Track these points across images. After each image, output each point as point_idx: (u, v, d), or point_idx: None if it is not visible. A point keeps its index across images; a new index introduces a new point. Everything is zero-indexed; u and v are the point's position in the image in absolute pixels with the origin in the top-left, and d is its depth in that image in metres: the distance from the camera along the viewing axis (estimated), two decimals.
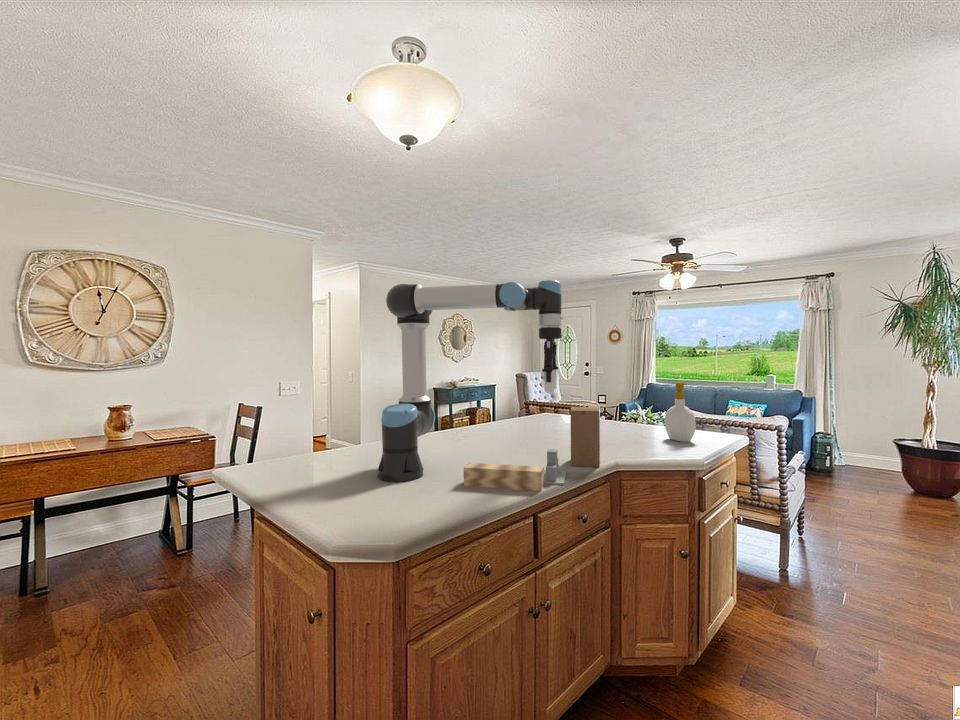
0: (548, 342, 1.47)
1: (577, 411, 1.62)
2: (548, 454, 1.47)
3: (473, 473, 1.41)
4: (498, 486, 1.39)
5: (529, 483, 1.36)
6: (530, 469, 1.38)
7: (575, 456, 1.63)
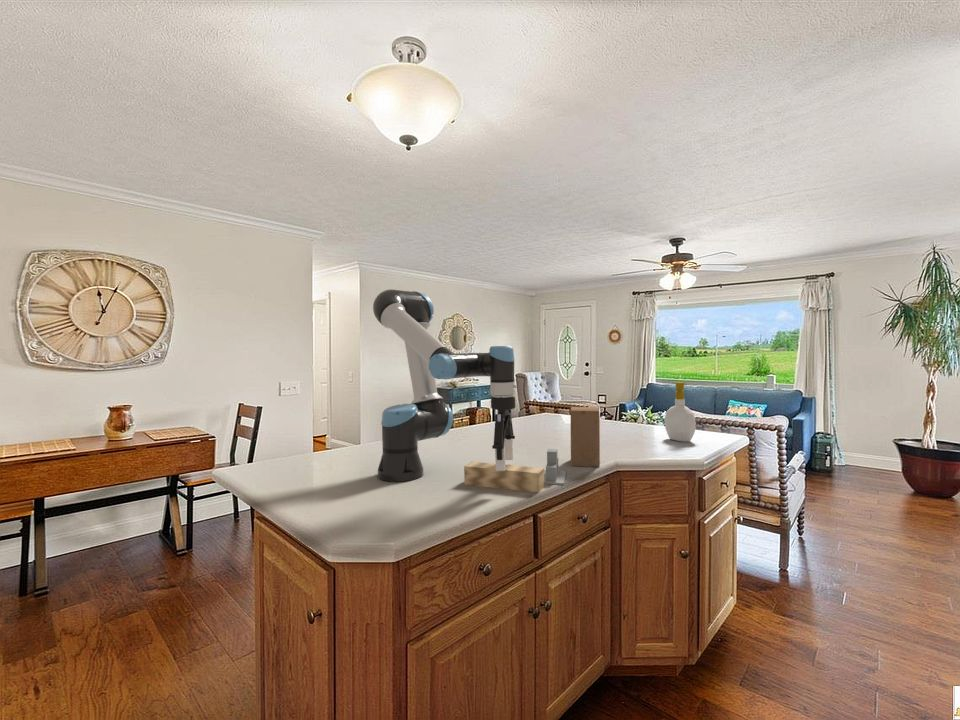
0: (499, 416, 1.34)
1: (577, 411, 1.62)
2: (548, 454, 1.47)
3: (473, 472, 1.42)
4: (497, 486, 1.39)
5: (527, 484, 1.36)
6: (529, 470, 1.37)
7: (575, 456, 1.63)
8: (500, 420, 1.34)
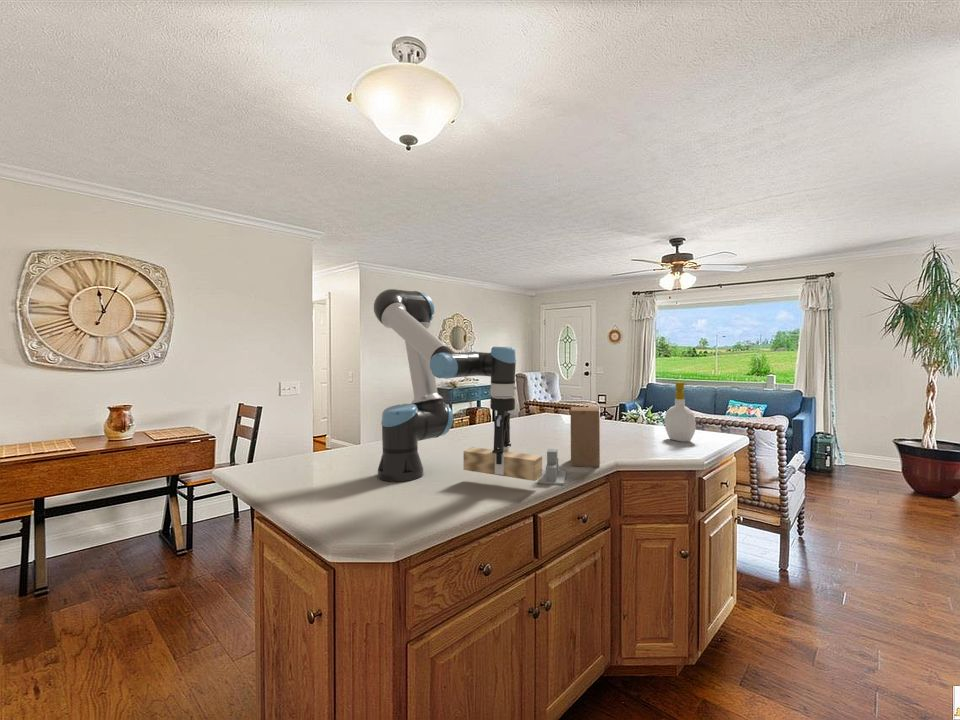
0: (498, 422, 1.35)
1: (577, 411, 1.62)
2: (548, 454, 1.47)
3: (472, 457, 1.43)
4: (494, 472, 1.40)
5: (523, 471, 1.35)
6: (526, 457, 1.37)
7: (575, 456, 1.63)
8: (499, 425, 1.35)
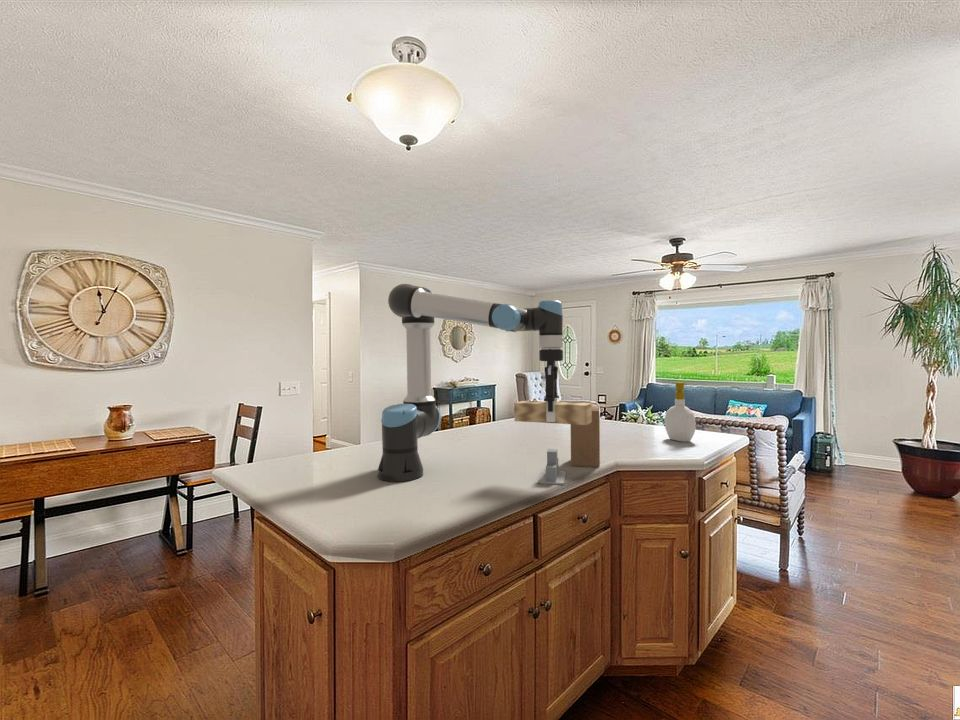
0: (549, 370, 1.41)
1: None
2: (548, 454, 1.47)
3: (523, 408, 1.50)
4: None
5: (575, 416, 1.41)
6: (576, 404, 1.43)
7: (575, 456, 1.63)
8: (550, 374, 1.41)
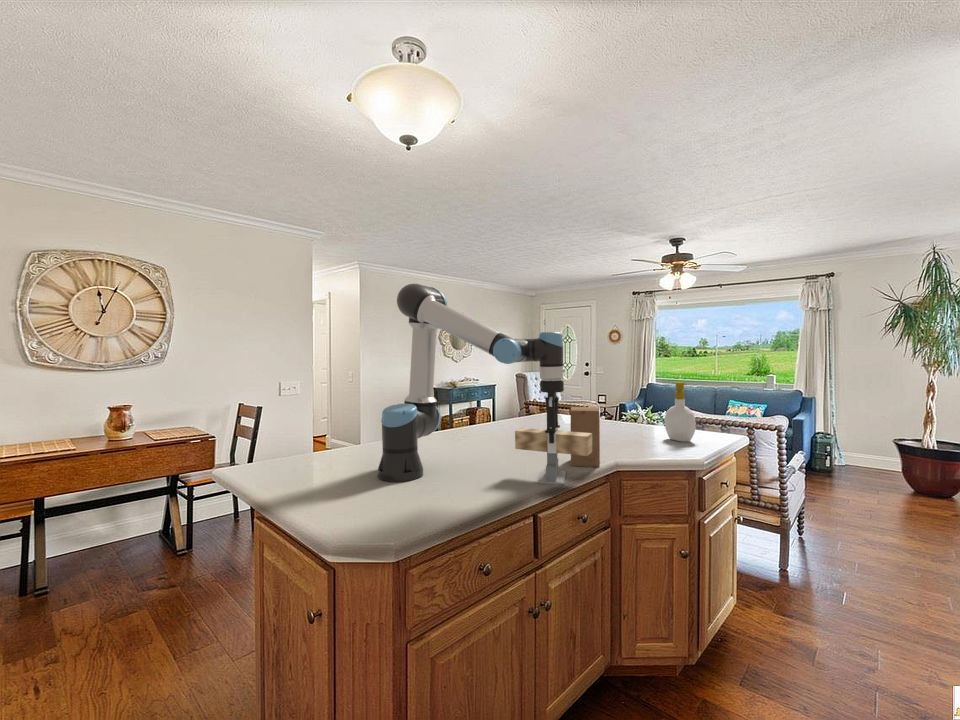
0: (550, 402, 1.42)
1: (577, 411, 1.62)
2: (548, 454, 1.47)
3: (524, 436, 1.50)
4: (546, 449, 1.46)
5: (576, 447, 1.42)
6: (577, 434, 1.44)
7: (575, 456, 1.63)
8: (551, 406, 1.42)
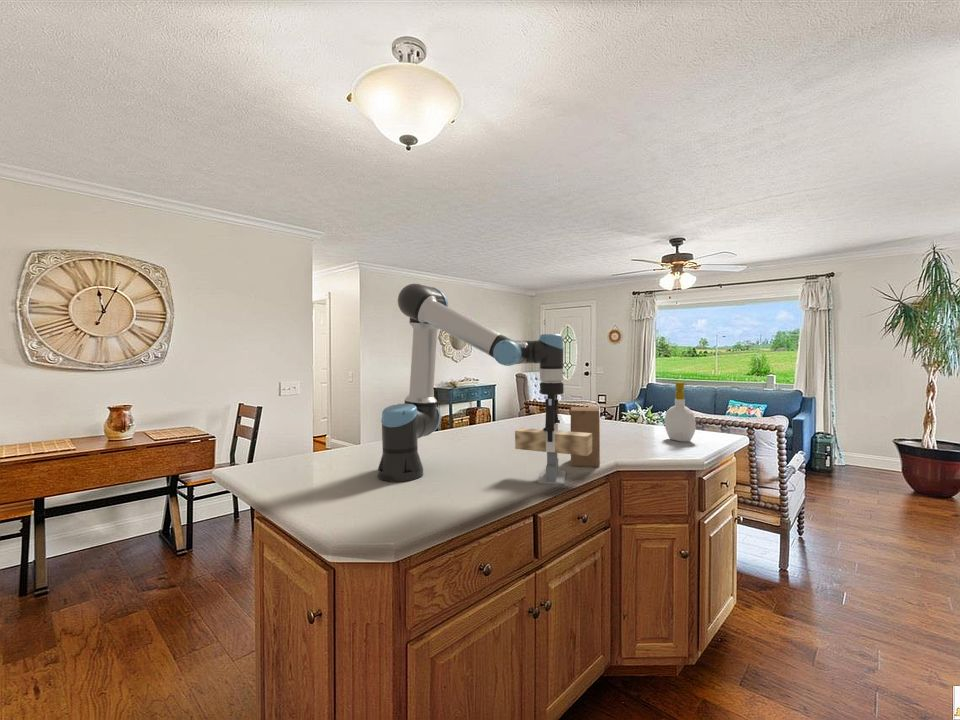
0: (550, 400, 1.42)
1: (577, 411, 1.62)
2: (548, 454, 1.47)
3: (524, 436, 1.50)
4: None
5: (576, 447, 1.42)
6: (577, 434, 1.44)
7: (575, 456, 1.63)
8: (551, 404, 1.41)
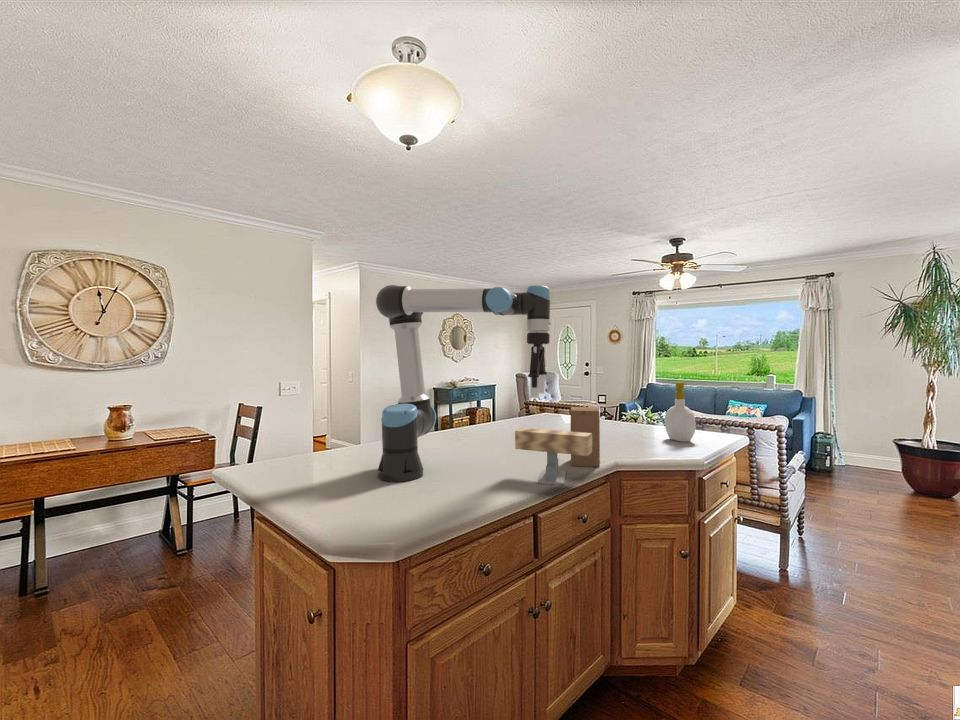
0: (535, 348, 1.47)
1: (577, 411, 1.62)
2: (548, 454, 1.47)
3: (524, 436, 1.50)
4: (546, 449, 1.46)
5: (576, 447, 1.42)
6: (577, 434, 1.44)
7: (575, 456, 1.63)
8: (536, 352, 1.47)
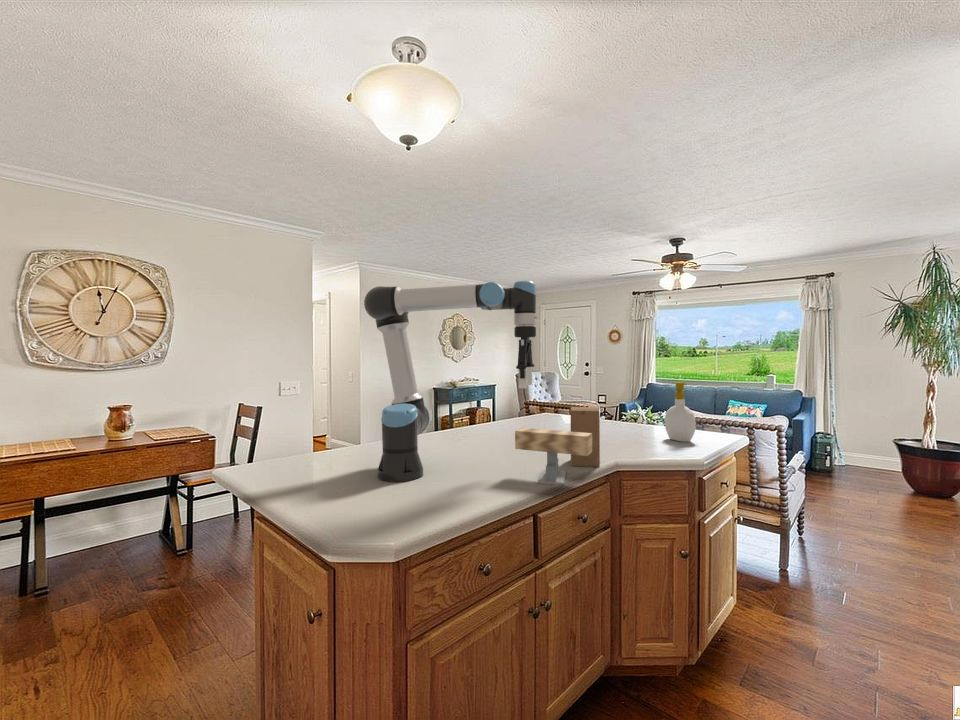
0: (522, 341, 1.54)
1: (577, 411, 1.62)
2: (548, 454, 1.47)
3: (524, 436, 1.50)
4: (546, 449, 1.46)
5: (576, 447, 1.42)
6: (577, 434, 1.44)
7: (575, 456, 1.63)
8: (523, 344, 1.54)
